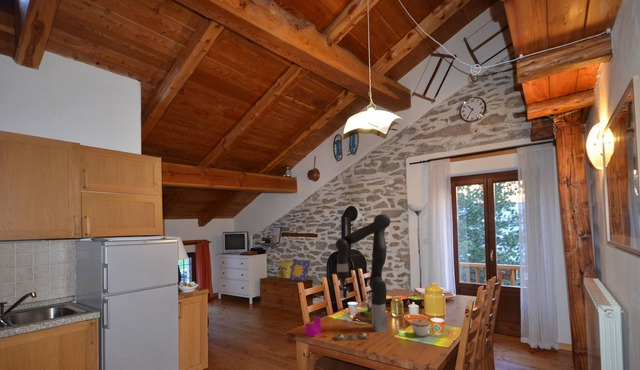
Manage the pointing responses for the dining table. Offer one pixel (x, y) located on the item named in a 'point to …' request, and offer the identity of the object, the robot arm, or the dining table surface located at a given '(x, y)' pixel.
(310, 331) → the toy block
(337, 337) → the gear board
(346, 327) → the dining table surface
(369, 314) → the plant
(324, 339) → the dining table surface
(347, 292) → the idler gear
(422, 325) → the lidded jar
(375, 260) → the robot arm
